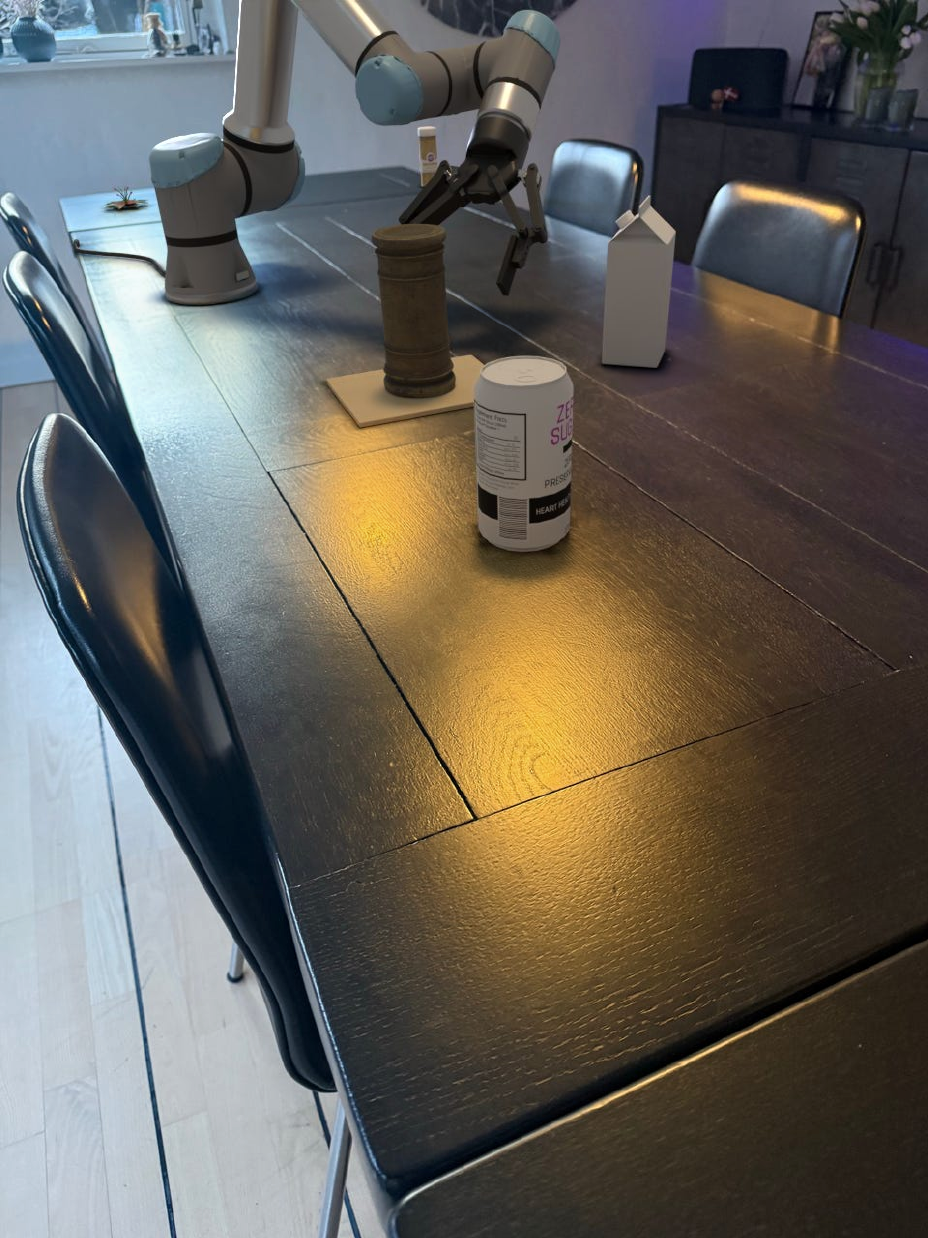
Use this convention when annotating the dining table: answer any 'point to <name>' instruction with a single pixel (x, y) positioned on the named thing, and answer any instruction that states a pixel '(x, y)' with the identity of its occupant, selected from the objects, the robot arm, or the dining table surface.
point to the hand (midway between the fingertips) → (453, 285)
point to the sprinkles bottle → (427, 153)
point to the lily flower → (124, 201)
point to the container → (414, 310)
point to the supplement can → (523, 451)
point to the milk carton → (638, 289)
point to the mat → (379, 406)
